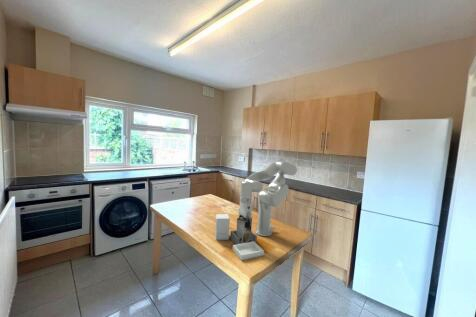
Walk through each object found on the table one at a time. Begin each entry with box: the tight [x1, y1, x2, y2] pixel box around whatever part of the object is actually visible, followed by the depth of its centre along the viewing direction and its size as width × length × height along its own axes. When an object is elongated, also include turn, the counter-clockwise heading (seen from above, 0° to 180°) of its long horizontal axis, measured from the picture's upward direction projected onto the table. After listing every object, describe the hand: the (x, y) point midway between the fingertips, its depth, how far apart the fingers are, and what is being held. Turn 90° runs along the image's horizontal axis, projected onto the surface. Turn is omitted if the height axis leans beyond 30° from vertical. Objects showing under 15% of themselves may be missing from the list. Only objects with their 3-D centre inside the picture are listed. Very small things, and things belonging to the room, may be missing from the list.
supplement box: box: [214, 213, 230, 241], centre depth 136 cm, size 9×9×15 cm
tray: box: [232, 241, 265, 261], centre depth 118 cm, size 15×12×3 cm
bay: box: [229, 229, 258, 245], centre depth 133 cm, size 14×12×5 cm
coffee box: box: [236, 216, 253, 244], centre depth 132 cm, size 9×6×16 cm
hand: (244, 224), depth 132 cm, fingers open, 9 cm apart
